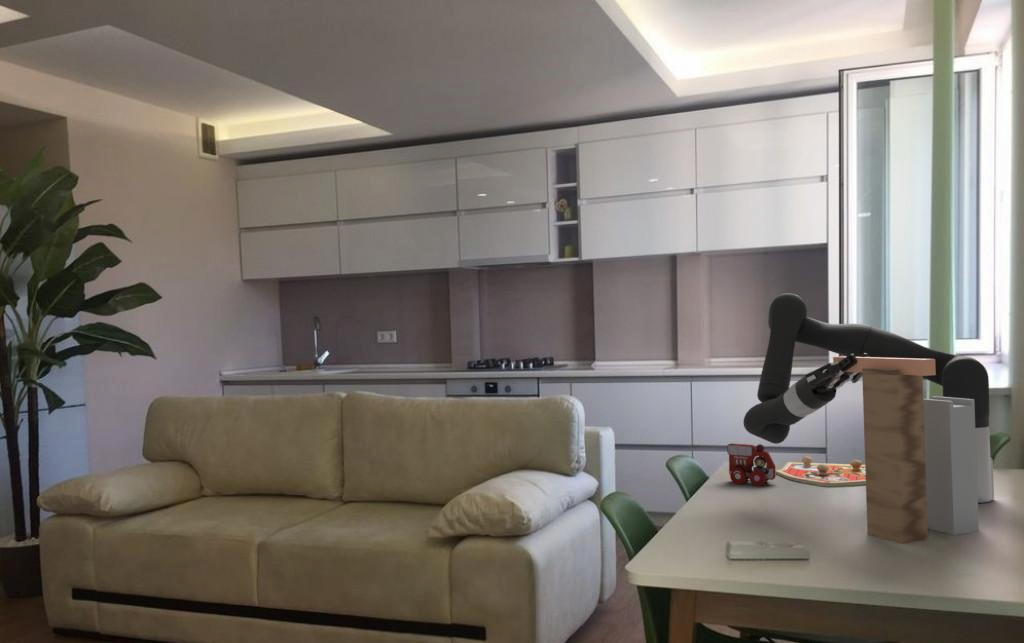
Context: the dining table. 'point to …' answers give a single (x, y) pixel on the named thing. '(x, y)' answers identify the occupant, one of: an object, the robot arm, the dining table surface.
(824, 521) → the dining table surface
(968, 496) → the cradle
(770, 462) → the toy fire truck
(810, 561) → the dining table surface
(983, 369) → the robot arm
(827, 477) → the knob puzzle
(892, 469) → the tower
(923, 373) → the stick
